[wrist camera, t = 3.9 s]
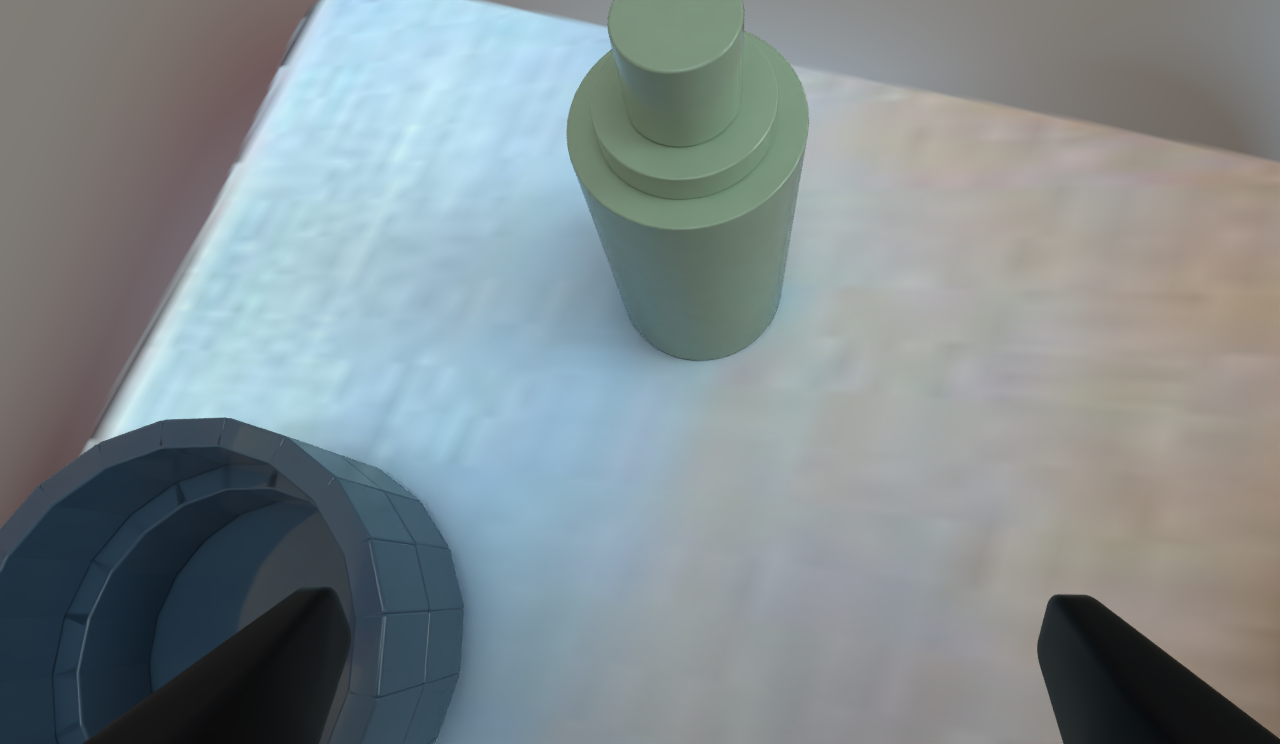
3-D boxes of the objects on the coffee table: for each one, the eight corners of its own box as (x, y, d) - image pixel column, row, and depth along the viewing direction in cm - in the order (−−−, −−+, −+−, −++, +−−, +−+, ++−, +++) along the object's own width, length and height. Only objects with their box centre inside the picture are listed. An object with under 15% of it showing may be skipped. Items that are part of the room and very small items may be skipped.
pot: (300, 942, 20) (133, 1078, 15) (56, 679, 24) (-159, 708, 18) (545, 594, 22) (482, 596, 17) (292, 394, 25) (165, 337, 20)
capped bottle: (723, 391, 24) (715, 196, 12) (593, 307, 25) (472, 60, 13) (812, 263, 25) (885, -33, 13) (681, 190, 26) (641, -139, 14)
